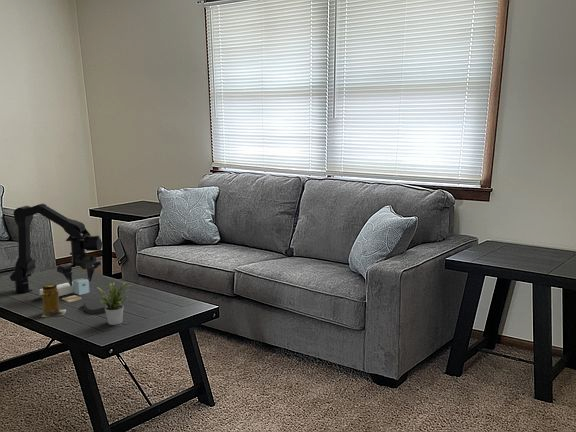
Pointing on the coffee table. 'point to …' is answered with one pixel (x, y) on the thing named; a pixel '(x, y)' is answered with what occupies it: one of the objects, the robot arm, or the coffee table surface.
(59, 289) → the power strip
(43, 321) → the coffee table surface
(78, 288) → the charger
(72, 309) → the coffee table surface
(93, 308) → the media streaming box
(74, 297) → the board
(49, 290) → the condiment
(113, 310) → the house plant
